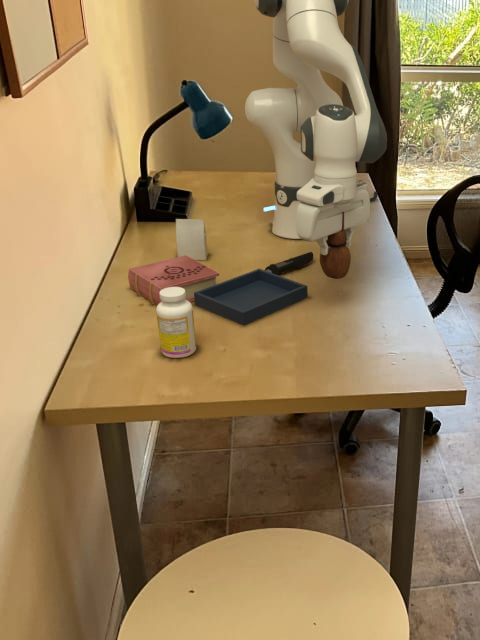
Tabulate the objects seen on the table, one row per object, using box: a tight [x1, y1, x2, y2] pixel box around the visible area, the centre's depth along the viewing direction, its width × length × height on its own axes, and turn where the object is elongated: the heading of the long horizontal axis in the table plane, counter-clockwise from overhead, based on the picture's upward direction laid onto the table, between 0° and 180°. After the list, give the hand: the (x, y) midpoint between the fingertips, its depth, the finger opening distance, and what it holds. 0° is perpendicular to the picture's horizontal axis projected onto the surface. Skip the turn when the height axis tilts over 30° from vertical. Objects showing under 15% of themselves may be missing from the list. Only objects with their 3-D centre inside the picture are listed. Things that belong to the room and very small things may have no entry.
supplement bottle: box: [155, 287, 197, 359], centre depth 144 cm, size 7×7×13 cm
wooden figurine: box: [319, 212, 352, 280], centre depth 162 cm, size 7×6×15 cm
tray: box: [194, 268, 309, 326], centre depth 168 cm, size 20×16×3 cm
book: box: [127, 255, 220, 307], centre depth 171 cm, size 14×15×5 cm
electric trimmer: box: [264, 251, 314, 276], centre depth 186 cm, size 4×16×3 cm, turn 143°
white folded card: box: [175, 218, 209, 261], centre depth 189 cm, size 4×7×10 cm, turn 95°
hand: (335, 250), depth 162 cm, fingers closed on wooden figurine, 5 cm apart
